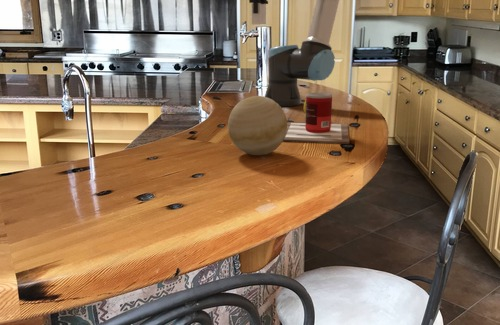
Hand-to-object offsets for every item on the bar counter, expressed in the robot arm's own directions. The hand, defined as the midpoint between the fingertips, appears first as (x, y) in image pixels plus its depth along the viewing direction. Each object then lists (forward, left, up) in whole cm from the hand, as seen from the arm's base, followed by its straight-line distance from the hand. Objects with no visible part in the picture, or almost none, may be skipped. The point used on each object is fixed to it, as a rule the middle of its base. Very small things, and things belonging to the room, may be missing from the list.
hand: (259, 24), depth 173 cm
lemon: (-3, +18, -32) cm, 37 cm away
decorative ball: (+48, +6, -32) cm, 58 cm away
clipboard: (+20, +20, -32) cm, 42 cm away
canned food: (+20, +21, -31) cm, 42 cm away
